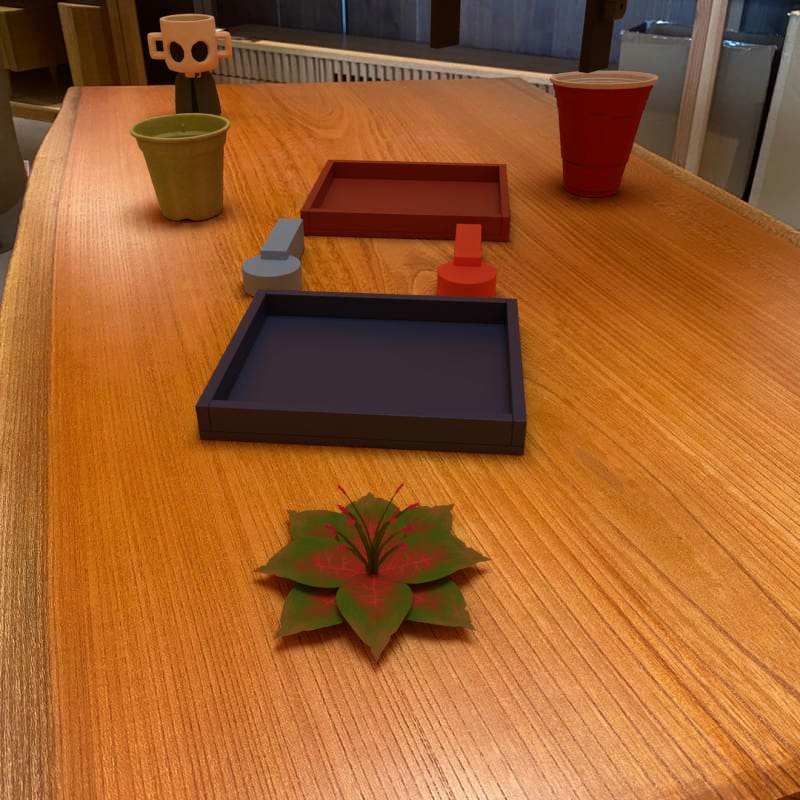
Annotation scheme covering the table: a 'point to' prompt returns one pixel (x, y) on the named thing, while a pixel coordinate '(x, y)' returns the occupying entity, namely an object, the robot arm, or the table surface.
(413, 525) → the lily flower
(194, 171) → the plant pot
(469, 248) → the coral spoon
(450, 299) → the navy tray
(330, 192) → the brick tray
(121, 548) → the table surface
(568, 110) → the plastic cup
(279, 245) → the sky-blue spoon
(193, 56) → the pink mug head figurine
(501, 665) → the table surface
